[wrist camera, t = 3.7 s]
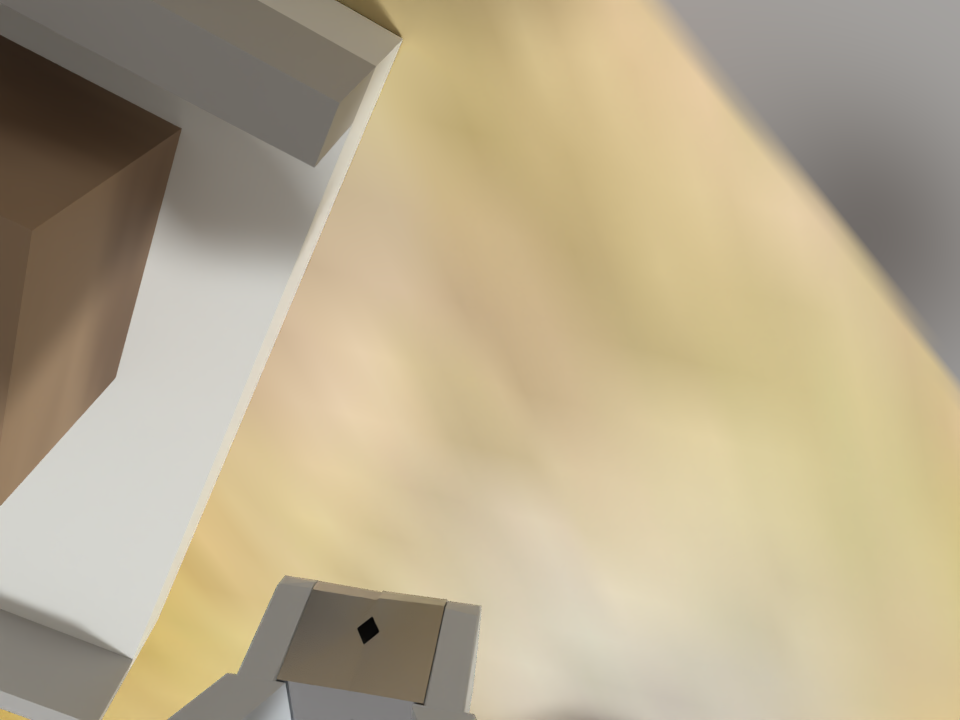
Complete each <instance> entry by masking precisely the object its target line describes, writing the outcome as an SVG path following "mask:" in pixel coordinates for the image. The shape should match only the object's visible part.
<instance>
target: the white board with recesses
mask: <svg viewBox="0 0 960 720" xmlns="http://www.w3.org/2000/svg"><path fill="white" fill-rule="evenodd" d="M0 35H2V36H4V37H6V38H7V39H9V40H11V41H13V42H15V43H17V44H19V45H21V46H23V47H25V48H27V49H29V50H31V51H33V52H35V53H37V54H38V55H40V56H42V57H44V58H46V59H48V60H50V61H52V62H54V63H56V64H58V65H60V66H62V67H64V68H66V69H67V70H69V71H71V72H73V73H75V74H77V75H79V76H81V77H83V78H85V79H87V80H89V81H91V82H93V83H95V84H96V85H98V86H100V87H102V88H104V89H106V90H108V91H110V92H112V93H114V94H116V95H118V96H120V97H122V98H124V99H126V100H127V101H129V102H131V103H133V104H135V105H137V106H139V107H141V108H143V109H145V110H147V111H149V112H151V113H153V114H155V115H156V116H158V117H160V118H162V119H164V120H166V121H168V122H170V123H172V124H174V125H176V126H178V127H180V128H182V130H181V134H180V137H179V141H178V145H177V149H176V152H175V156H174V160H173V164H172V168H171V171H170V175H169V179H168V183H167V186H166V190H165V194H164V198H163V201H162V205H161V209H160V213H159V217H158V220H157V224H156V228H155V232H154V235H153V239H152V243H151V247H150V250H149V254H148V258H147V262H146V266H145V269H144V273H143V277H142V281H141V284H140V288H139V292H138V296H137V300H136V303H135V307H134V311H133V315H132V318H131V322H130V326H129V330H128V333H127V337H126V341H125V345H124V349H123V352H122V356H121V360H120V364H119V367H118V371H117V375H116V378H115V379H114V380H113V381H112V383H111V384H110V385H109V386H108V387H107V388H106V389H105V390H104V392H103V393H102V394H101V395H100V396H99V397H98V398H97V399H96V400H95V402H94V403H93V404H92V405H91V406H90V407H89V408H88V409H87V410H86V412H85V413H84V414H83V415H82V416H81V417H80V418H79V419H78V420H77V422H76V423H75V424H74V425H73V426H72V427H71V428H70V429H69V430H68V432H67V433H66V434H65V435H64V436H63V437H62V438H61V439H60V440H59V442H58V443H57V444H56V445H55V446H54V447H53V448H52V449H51V450H50V452H49V453H48V454H47V455H46V456H45V457H44V458H43V459H42V460H41V462H40V463H39V464H38V465H37V466H36V467H35V468H34V469H33V470H32V472H31V473H30V474H29V475H28V476H27V477H26V478H25V479H24V481H23V482H22V483H21V484H20V485H19V486H18V487H17V488H16V489H15V491H14V492H13V493H12V494H11V495H10V496H9V497H8V498H7V499H6V501H5V502H4V503H3V504H2V505H1V506H0V709H3V710H6V711H9V712H12V713H14V714H17V715H20V716H23V717H26V718H28V719H31V720H102V718H103V716H104V714H105V713H106V711H107V709H108V707H109V706H110V704H111V702H112V700H113V698H114V697H115V695H116V693H117V691H118V690H119V688H120V686H121V684H122V682H123V681H124V679H125V677H126V675H127V674H128V672H129V670H130V668H131V666H132V665H133V663H134V661H135V659H136V657H137V656H138V654H139V652H140V650H141V649H142V647H143V645H144V643H145V641H146V640H147V638H148V636H149V634H150V633H151V631H152V629H153V627H154V625H155V624H156V622H157V620H158V618H159V616H160V613H161V611H162V609H163V606H164V604H165V602H166V599H167V597H168V594H169V592H170V590H171V587H172V585H173V583H174V580H175V578H176V576H177V573H178V571H179V568H180V566H181V564H182V561H183V559H184V557H185V554H186V552H187V549H188V547H189V545H190V542H191V540H192V538H193V535H194V533H195V531H196V528H197V526H198V523H199V521H200V519H201V516H202V514H203V512H204V509H205V507H206V504H207V502H208V500H209V497H210V495H211V493H212V490H213V488H214V486H215V483H216V481H217V478H218V476H219V474H220V471H221V469H222V467H223V464H224V462H225V460H226V457H227V455H228V452H229V450H230V448H231V445H232V443H233V441H234V438H235V436H236V433H237V431H238V429H239V426H240V424H241V422H242V419H243V417H244V415H245V412H246V410H247V407H248V405H249V403H250V400H251V398H252V396H253V393H254V391H255V388H256V386H257V384H258V381H259V379H260V377H261V374H262V372H263V370H264V367H265V365H266V362H267V360H268V358H269V355H270V353H271V351H272V348H273V346H274V344H275V341H276V339H277V336H278V334H279V332H280V329H281V327H282V325H283V322H284V320H285V317H286V315H287V313H288V310H289V308H290V306H291V303H292V301H293V299H294V296H295V294H296V291H297V289H298V287H299V284H300V282H301V280H302V277H303V275H304V272H305V270H306V268H307V265H308V263H309V261H310V258H311V256H312V254H313V251H314V249H315V246H316V244H317V242H318V239H319V237H320V235H321V232H322V230H323V228H324V225H325V223H326V220H327V218H328V216H329V213H330V211H331V209H332V206H333V204H334V201H335V199H336V197H337V194H338V192H339V190H340V187H341V185H342V183H343V180H344V178H345V175H346V173H347V171H348V168H349V166H350V164H351V161H352V159H353V156H354V154H355V152H356V149H357V147H358V145H359V142H360V140H361V138H362V135H363V133H364V130H365V128H366V126H367V123H368V121H369V119H370V116H371V114H372V111H373V109H374V107H375V104H376V102H377V100H378V97H379V95H380V93H381V90H382V88H383V85H384V83H385V81H386V78H387V76H388V74H389V71H390V69H391V67H392V64H393V62H394V59H395V57H396V55H397V52H398V50H399V48H400V45H401V43H402V40H403V39H402V38H401V37H399V36H397V35H395V34H394V33H392V32H390V31H388V30H387V29H385V28H383V27H381V26H380V25H378V24H376V23H374V22H373V21H371V20H369V19H367V18H366V17H364V16H362V15H360V14H359V13H357V12H355V11H353V10H352V9H350V8H348V7H346V6H345V5H343V4H341V3H339V2H338V1H336V0H0Z"/></svg>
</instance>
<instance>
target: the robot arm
mask: <svg viewBox="0 0 960 720" xmlns="http://www.w3.org/2000/svg"><path fill="white" fill-rule="evenodd" d="M480 620H481V605H473V604H466V603H458V602H451V601H448V602H447V600H445V599H438V598H431V597H424V596H416V595H409V594H402V593H395V592H387V591H382V592H380V591H374V590H368V589H362V588H357V587H351V586H345V585H339V584H333V583H328V582H322V581H318V580H311V579H305V578H298V577H292V576H286V575H285V576H284V578H283V579H282V580H281V581H280V582H279V584H278V585H277V587H276V589H275V591H274V594H273V596H272V598H271V600H270V602H269V605H268V607H267V609H266V611H265V614H264V616H263V618H262V620H261V622H260V625H259V627H258V629H257V631H256V633H255V636H254V638H253V640H252V642H251V645H250V647H249V649H248V651H247V653H246V656H245V658H244V660H243V662H242V665H241V667H240V669H239V671H238V673H237V674H232V673H227V674H225V675H224V676H223V677H221V678H220V679H219V680H218V681H216V682H215V683H214V684H212V685H211V686H210V687H209V688H207V689H206V690H205V691H203V692H202V693H201V694H200V695H198V696H197V697H196V698H194V699H193V700H192V701H191V702H189V703H188V704H187V705H185V706H184V707H183V708H182V709H180V710H179V711H178V712H176V713H175V714H174V715H173V716H171V717H170V718H169V719H167V720H476V717H475V715H474V714H471V713H469V711H470V705H471V699H472V692H473V685H474V677H475V668H476V659H477V650H478V640H479V630H480Z"/></svg>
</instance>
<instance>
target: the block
mask: <svg viewBox="0 0 960 720" xmlns="http://www.w3.org/2000/svg"><path fill="white" fill-rule="evenodd" d="M181 130H182V128H180V127H178V126H176V125H174V124H172V123H170V122H168V121H166V120H164V119H162V118H160V117H158V116H156V115H155V114H153V113H151V112H149V111H147V110H145V109H143V108H141V107H139V106H137V105H135V104H133V103H131V102H129V101H127V100H126V99H124V98H122V97H120V96H118V95H116V94H114V93H112V92H110V91H108V90H106V89H104V88H102V87H100V86H98V85H96V84H95V83H93V82H91V81H89V80H87V79H85V78H83V77H81V76H79V75H77V74H75V73H73V72H71V71H69V70H67V69H66V68H64V67H62V66H60V65H58V64H56V63H54V62H52V61H50V60H48V59H46V58H44V57H42V56H40V55H38V54H37V53H35V52H33V51H31V50H29V49H27V48H25V47H23V46H21V45H19V44H17V43H15V42H13V41H11V40H9V39H7V38H6V37H4V36H2V35H0V506H1V505H2V504H3V503H4V502H5V501H6V499H7V498H8V497H9V496H10V495H11V494H12V493H13V492H14V491H15V489H16V488H17V487H18V486H19V485H20V484H21V483H22V482H23V481H24V479H25V478H26V477H27V476H28V475H29V474H30V473H31V472H32V470H33V469H34V468H35V467H36V466H37V465H38V464H39V463H40V462H41V460H42V459H43V458H44V457H45V456H46V455H47V454H48V453H49V452H50V450H51V449H52V448H53V447H54V446H55V445H56V444H57V443H58V442H59V440H60V439H61V438H62V437H63V436H64V435H65V434H66V433H67V432H68V430H69V429H70V428H71V427H72V426H73V425H74V424H75V423H76V422H77V420H78V419H79V418H80V417H81V416H82V415H83V414H84V413H85V412H86V410H87V409H88V408H89V407H90V406H91V405H92V404H93V403H94V402H95V400H96V399H97V398H98V397H99V396H100V395H101V394H102V393H103V392H104V390H105V389H106V388H107V387H108V386H109V385H110V384H111V383H112V381H113V380H114V379H115V378H116V375H117V371H118V367H119V364H120V360H121V356H122V352H123V349H124V345H125V341H126V337H127V333H128V330H129V326H130V322H131V318H132V315H133V311H134V307H135V303H136V300H137V296H138V292H139V288H140V284H141V281H142V277H143V273H144V269H145V266H146V262H147V258H148V254H149V250H150V247H151V243H152V239H153V235H154V232H155V228H156V224H157V220H158V217H159V213H160V209H161V205H162V201H163V198H164V194H165V190H166V186H167V183H168V179H169V175H170V171H171V168H172V164H173V160H174V156H175V152H176V149H177V145H178V141H179V137H180V134H181Z"/></svg>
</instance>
